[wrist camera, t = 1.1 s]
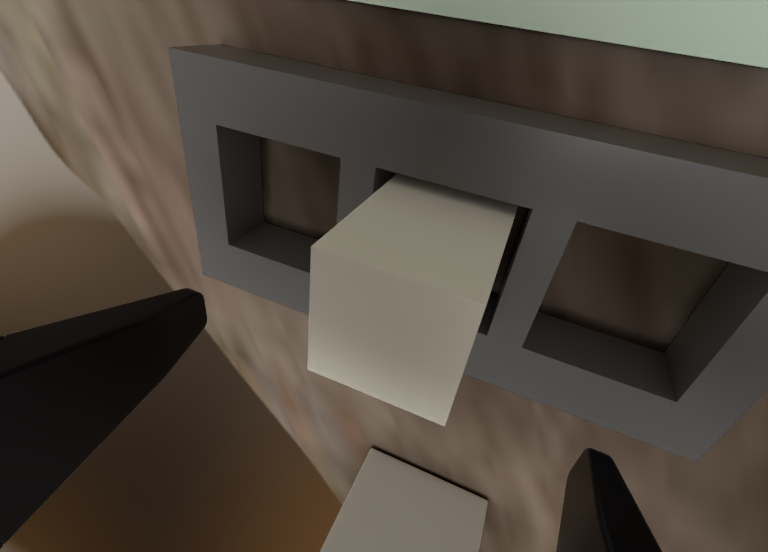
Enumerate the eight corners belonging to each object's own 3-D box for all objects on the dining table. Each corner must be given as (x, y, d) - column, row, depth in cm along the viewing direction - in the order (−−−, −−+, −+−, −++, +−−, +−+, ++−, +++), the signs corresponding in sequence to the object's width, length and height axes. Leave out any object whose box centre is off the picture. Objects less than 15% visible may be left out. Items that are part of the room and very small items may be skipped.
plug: (523, 190, 14) (486, 305, 8) (490, 286, 16) (444, 426, 10) (411, 161, 15) (310, 246, 9) (395, 255, 17) (307, 369, 11)
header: (873, 180, 10) (940, 216, 8) (681, 407, 15) (696, 462, 13) (219, 44, 15) (168, 47, 13) (238, 251, 20) (203, 274, 18)
